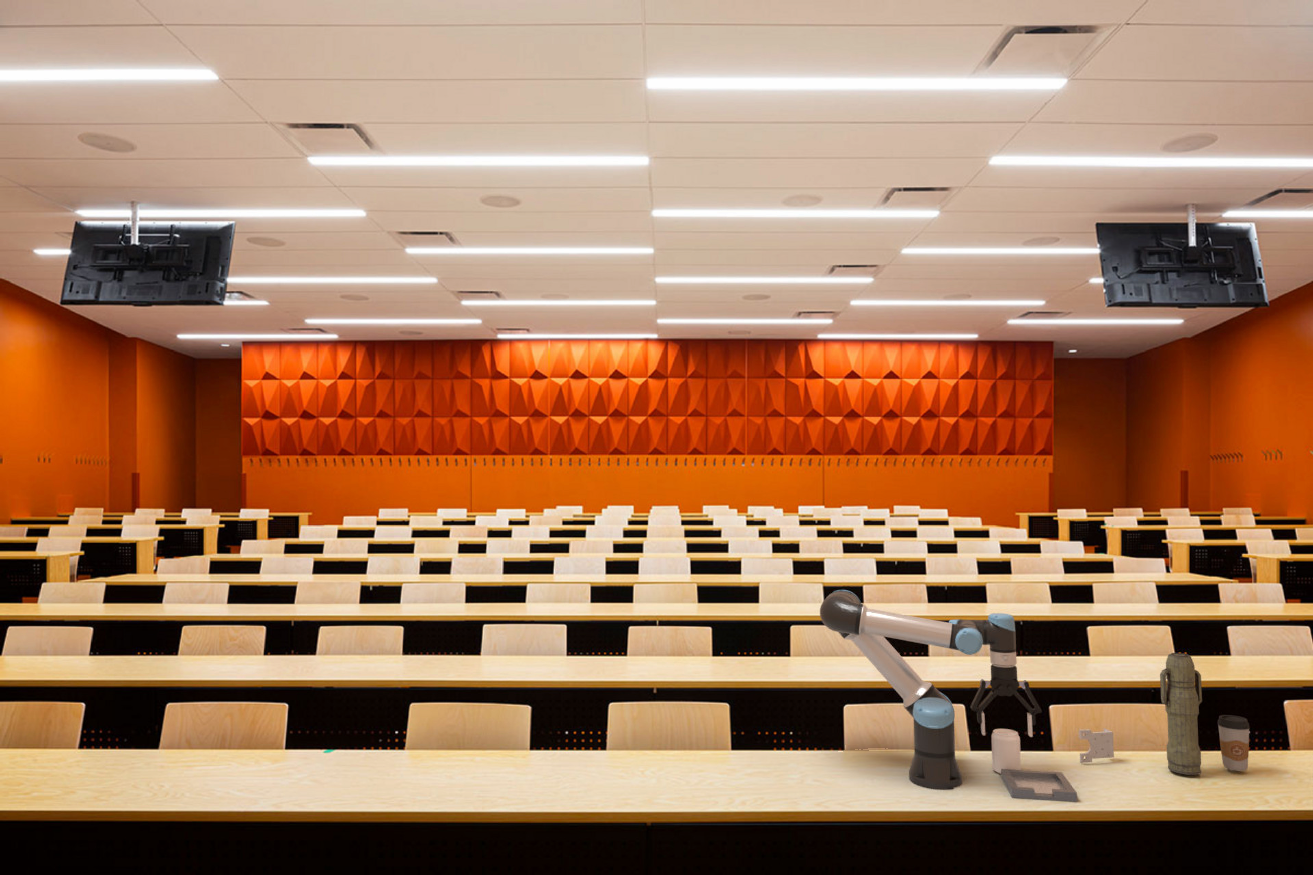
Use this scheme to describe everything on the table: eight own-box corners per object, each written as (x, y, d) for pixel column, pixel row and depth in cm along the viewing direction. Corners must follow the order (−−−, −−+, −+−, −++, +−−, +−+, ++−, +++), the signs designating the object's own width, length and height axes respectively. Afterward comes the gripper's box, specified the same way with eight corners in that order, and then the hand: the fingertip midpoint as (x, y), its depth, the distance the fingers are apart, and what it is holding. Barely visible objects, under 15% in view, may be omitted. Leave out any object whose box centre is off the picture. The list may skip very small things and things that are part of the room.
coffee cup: (1222, 770, 263) (1220, 720, 263) (1216, 761, 270) (1214, 713, 271) (1254, 773, 260) (1252, 723, 260) (1247, 764, 267) (1245, 715, 268)
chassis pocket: (1012, 797, 243) (1011, 788, 243) (1001, 777, 259) (1000, 768, 259) (1077, 801, 239) (1076, 792, 239) (1062, 780, 256) (1061, 772, 256)
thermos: (1213, 773, 260) (1208, 656, 262) (1177, 775, 258) (1172, 658, 260) (1191, 764, 269) (1186, 650, 270) (1156, 766, 267) (1152, 652, 269)
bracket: (1105, 756, 277) (1103, 724, 278) (1114, 760, 273) (1112, 728, 274) (1073, 758, 276) (1071, 726, 276) (1081, 762, 272) (1080, 730, 272)
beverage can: (1021, 769, 266) (1020, 729, 267) (1020, 777, 259) (1019, 737, 259) (993, 765, 269) (992, 726, 270) (991, 774, 262) (990, 734, 263)
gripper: (962, 666, 264) (965, 736, 263) (1049, 668, 259) (1053, 739, 258) (959, 661, 272) (962, 729, 271) (1044, 662, 267) (1047, 732, 265)
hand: (1006, 734), depth 264 cm, fingers open, 13 cm apart
